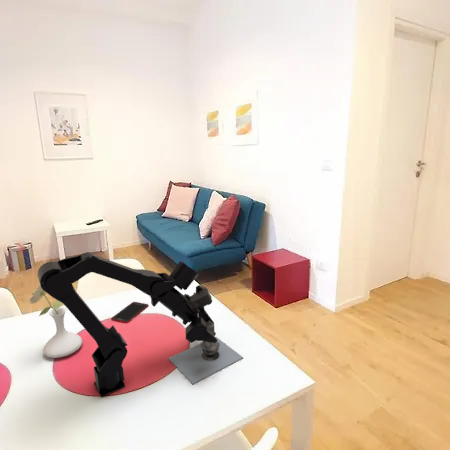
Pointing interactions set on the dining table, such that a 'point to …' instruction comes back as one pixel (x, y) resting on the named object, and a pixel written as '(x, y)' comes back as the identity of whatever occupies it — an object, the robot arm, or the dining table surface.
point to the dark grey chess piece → (210, 345)
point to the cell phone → (129, 312)
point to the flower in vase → (62, 340)
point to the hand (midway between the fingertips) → (214, 332)
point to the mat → (203, 362)
